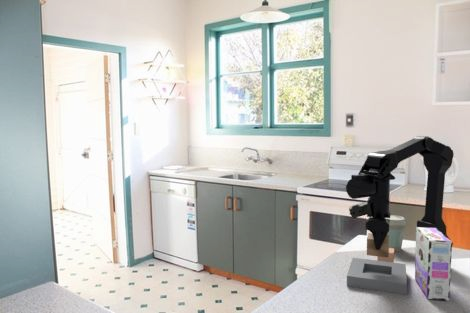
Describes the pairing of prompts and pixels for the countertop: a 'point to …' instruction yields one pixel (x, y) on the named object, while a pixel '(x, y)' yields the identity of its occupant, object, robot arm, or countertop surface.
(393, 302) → the countertop surface
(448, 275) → the candy box
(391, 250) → the peach cube
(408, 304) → the countertop surface
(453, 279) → the countertop surface
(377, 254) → the walnut block
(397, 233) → the coffee cup
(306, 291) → the countertop surface
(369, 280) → the grey slotted square board
